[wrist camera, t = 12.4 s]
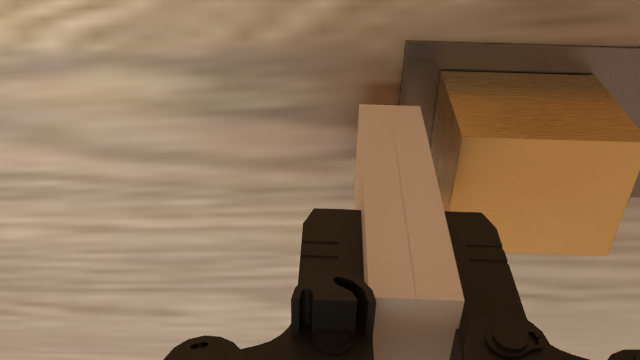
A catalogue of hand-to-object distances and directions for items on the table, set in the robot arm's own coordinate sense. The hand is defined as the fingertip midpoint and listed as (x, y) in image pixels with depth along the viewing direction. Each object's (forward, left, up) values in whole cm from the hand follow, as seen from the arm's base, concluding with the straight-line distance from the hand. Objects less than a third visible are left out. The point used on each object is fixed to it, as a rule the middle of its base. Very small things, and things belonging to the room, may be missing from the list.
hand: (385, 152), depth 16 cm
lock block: (-2, +3, -2) cm, 4 cm away
